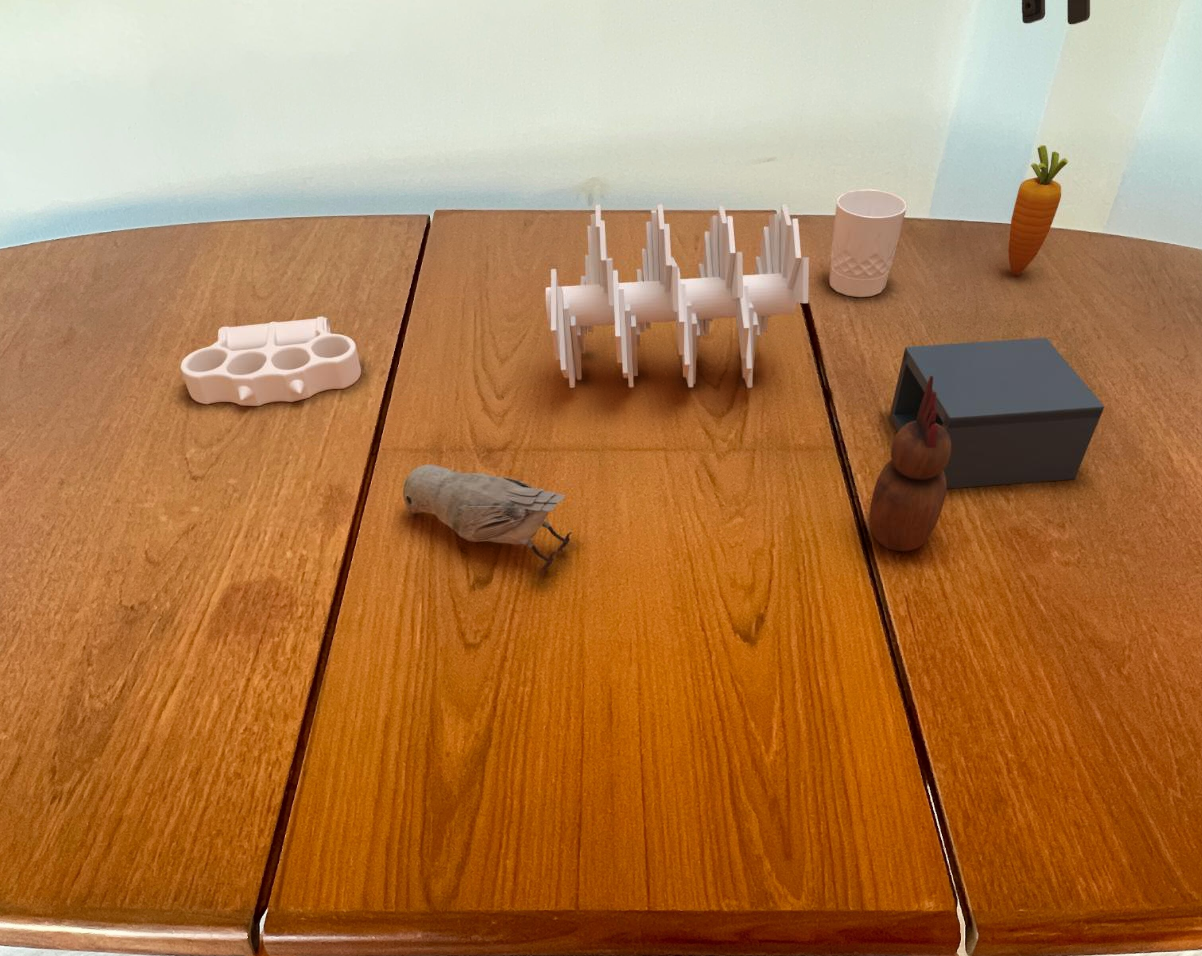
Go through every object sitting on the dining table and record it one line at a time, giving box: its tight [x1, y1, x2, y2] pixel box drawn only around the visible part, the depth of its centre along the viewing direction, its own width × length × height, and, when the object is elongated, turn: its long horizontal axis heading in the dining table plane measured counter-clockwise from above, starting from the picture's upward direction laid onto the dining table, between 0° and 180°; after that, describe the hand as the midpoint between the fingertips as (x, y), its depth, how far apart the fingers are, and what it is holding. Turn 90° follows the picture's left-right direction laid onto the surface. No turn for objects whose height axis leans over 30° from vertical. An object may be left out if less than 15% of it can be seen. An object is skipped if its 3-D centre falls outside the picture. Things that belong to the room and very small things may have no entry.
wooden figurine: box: [869, 376, 951, 552], centre depth 81 cm, size 7×6×15 cm
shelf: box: [888, 337, 1105, 490], centre depth 92 cm, size 14×12×8 cm
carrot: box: [1007, 144, 1069, 276], centre depth 115 cm, size 5×5×15 cm
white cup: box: [828, 188, 908, 298], centre depth 116 cm, size 8×8×10 cm
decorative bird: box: [402, 464, 573, 578], centre depth 84 cm, size 5×16×8 cm, turn 62°
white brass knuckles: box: [180, 316, 362, 407], centre depth 105 cm, size 3×18×15 cm
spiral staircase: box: [545, 203, 810, 389], centre depth 99 cm, size 18×18×25 cm
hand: (1056, 22), depth 106 cm, fingers open, 8 cm apart
